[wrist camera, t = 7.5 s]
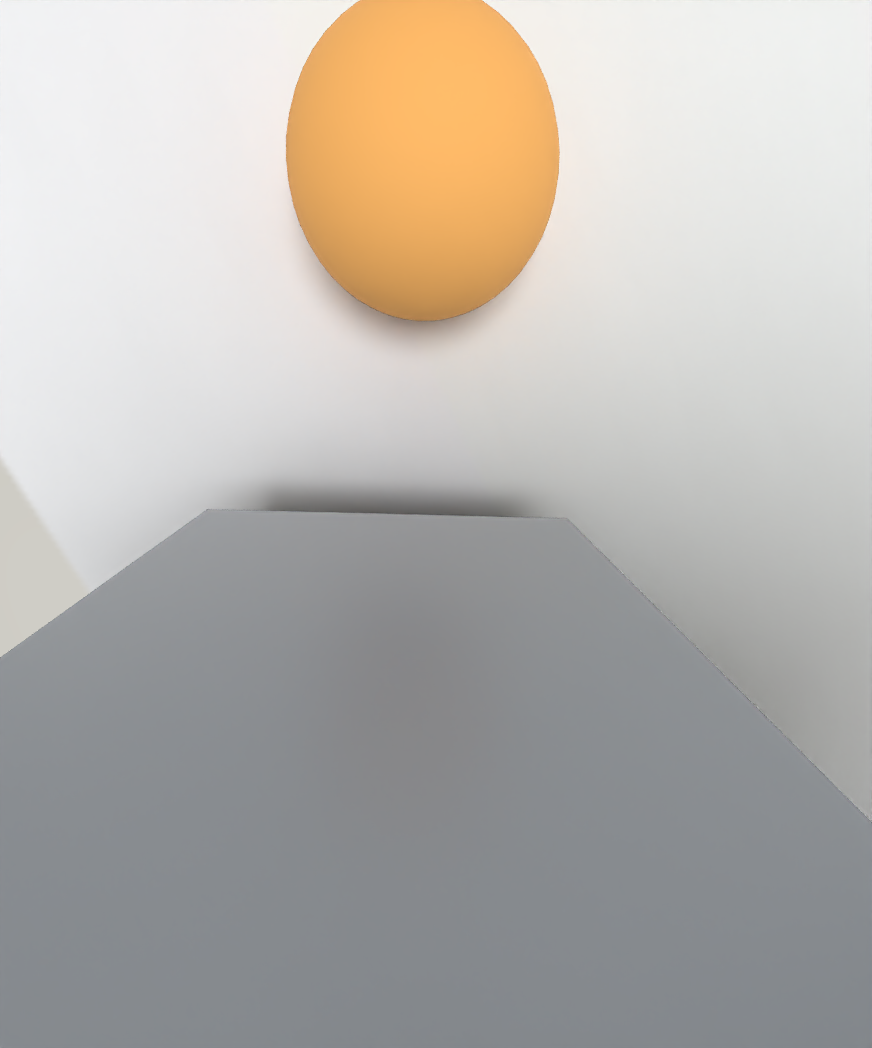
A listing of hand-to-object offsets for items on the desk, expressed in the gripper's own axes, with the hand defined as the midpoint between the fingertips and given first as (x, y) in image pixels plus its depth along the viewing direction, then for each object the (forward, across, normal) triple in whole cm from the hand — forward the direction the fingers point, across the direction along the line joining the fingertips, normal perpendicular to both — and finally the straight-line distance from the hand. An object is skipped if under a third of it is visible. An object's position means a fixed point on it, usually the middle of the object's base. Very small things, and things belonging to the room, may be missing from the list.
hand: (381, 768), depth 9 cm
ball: (+4, 0, -10) cm, 11 cm away
